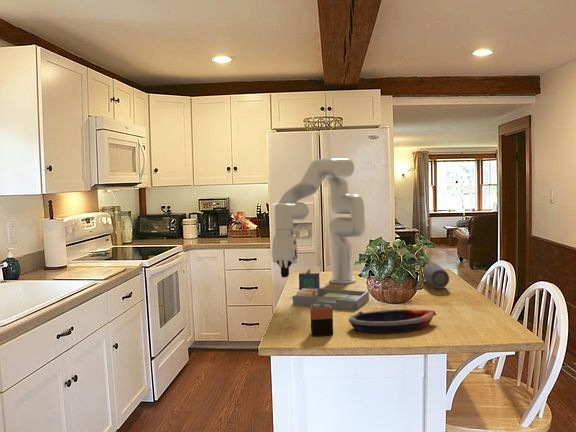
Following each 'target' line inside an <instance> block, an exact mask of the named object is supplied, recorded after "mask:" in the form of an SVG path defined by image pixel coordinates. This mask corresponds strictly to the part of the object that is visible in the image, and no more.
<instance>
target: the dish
mask: <svg viewBox="0 0 576 432" xmlns="http://www.w3.org/2000/svg"><path fill="white" fill-rule="evenodd" d="M436 315H437V313H436V311H435V310H431V309H415V308H414V309H413V308H412V309H411V308H408V309H407V308H400V309H399V308H397V309H394V308H393V309H383V310H381V309H380V310H372V311H366V312H365V311H364V312H363V311H358V313H355V314H353V315H351V316H350V317H349V318H348V322H349V323H350V325H351V327H352V328H353V329H355V330H357V331H360V332H366V333H376V334H377V333H378V334H387V333H401V332H403V333H404V332H409V331H410V332H411V331H415V330H419V329H423V328H425V327H426V326H428V325H429V324H431V322H432V319H434V317H436Z"/></svg>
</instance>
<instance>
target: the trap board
mask: <svg viewBox="0 0 576 432" xmlns="http://www.w3.org/2000/svg"><path fill="white" fill-rule="evenodd" d="M308 289H317V290H318V297H306V296H297V295H292V305H297V306H307V307H311V306H313V304H319V305H320V306H322V305H324V304H329V305H330V306H331V307H332V309H342V310H343V309H344V310H352V311H353V310H355V311H357V310H359V309H360V308H361V307H362V306H363V305H365V304H366V303H367V302H369V300H370V292H369V291H365V290H354V289H353V290H352V289H339V288H338V289H337V288H336V289H335V288H323V287H320V288H311V287H308Z"/></svg>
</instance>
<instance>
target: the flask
mask: <svg viewBox="0 0 576 432" xmlns="http://www.w3.org/2000/svg"><path fill="white" fill-rule="evenodd" d="M308 287H311V288H321V286H320V272H311V269H307V271H302V272H299V273H298V289H299V290H301V289H303V288H304V289H308ZM299 290H298V291H299Z"/></svg>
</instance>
